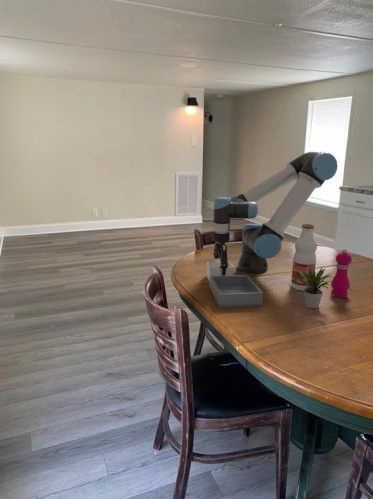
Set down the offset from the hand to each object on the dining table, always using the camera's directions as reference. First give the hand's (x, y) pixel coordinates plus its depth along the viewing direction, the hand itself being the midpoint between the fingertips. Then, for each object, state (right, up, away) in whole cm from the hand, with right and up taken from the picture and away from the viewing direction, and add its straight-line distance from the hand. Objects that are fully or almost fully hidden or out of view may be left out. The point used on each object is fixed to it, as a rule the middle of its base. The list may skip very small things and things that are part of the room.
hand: (219, 276), depth 174 cm
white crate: (0, -1, 0) cm, 1 cm away
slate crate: (+4, -7, -20) cm, 22 cm away
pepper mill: (+49, -7, -17) cm, 52 cm away
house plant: (+33, -10, -30) cm, 45 cm away
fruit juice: (+35, -4, -9) cm, 37 cm away
